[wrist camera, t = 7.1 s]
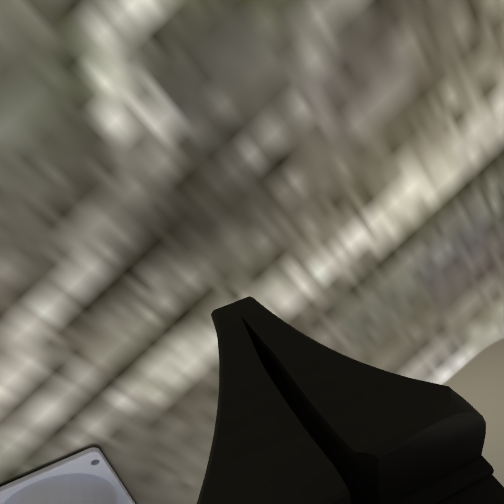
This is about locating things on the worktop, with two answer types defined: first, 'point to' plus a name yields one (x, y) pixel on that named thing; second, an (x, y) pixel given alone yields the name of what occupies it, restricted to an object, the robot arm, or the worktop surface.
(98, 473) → the robot arm
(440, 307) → the worktop surface
